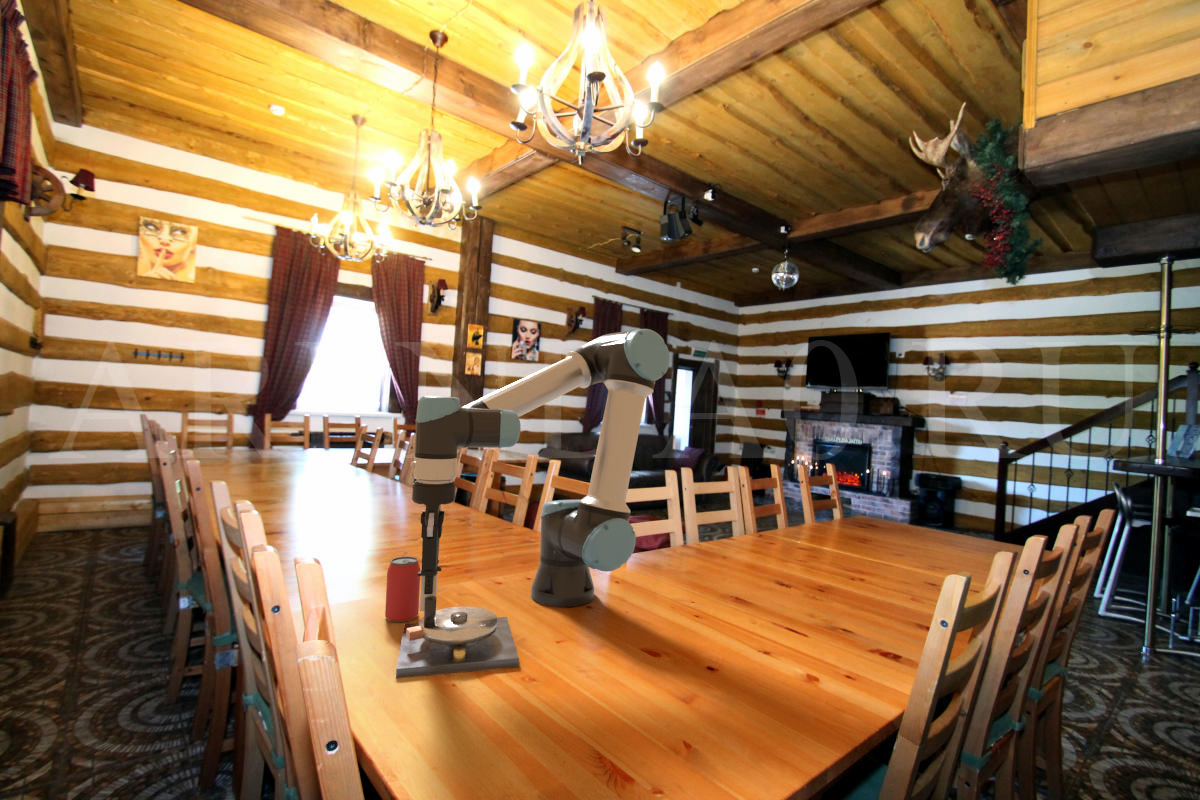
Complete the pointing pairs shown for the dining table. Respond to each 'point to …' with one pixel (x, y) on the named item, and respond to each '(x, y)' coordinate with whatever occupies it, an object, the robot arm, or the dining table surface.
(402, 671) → the base plate
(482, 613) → the silver disc with handle
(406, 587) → the beer can
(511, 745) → the dining table surface
